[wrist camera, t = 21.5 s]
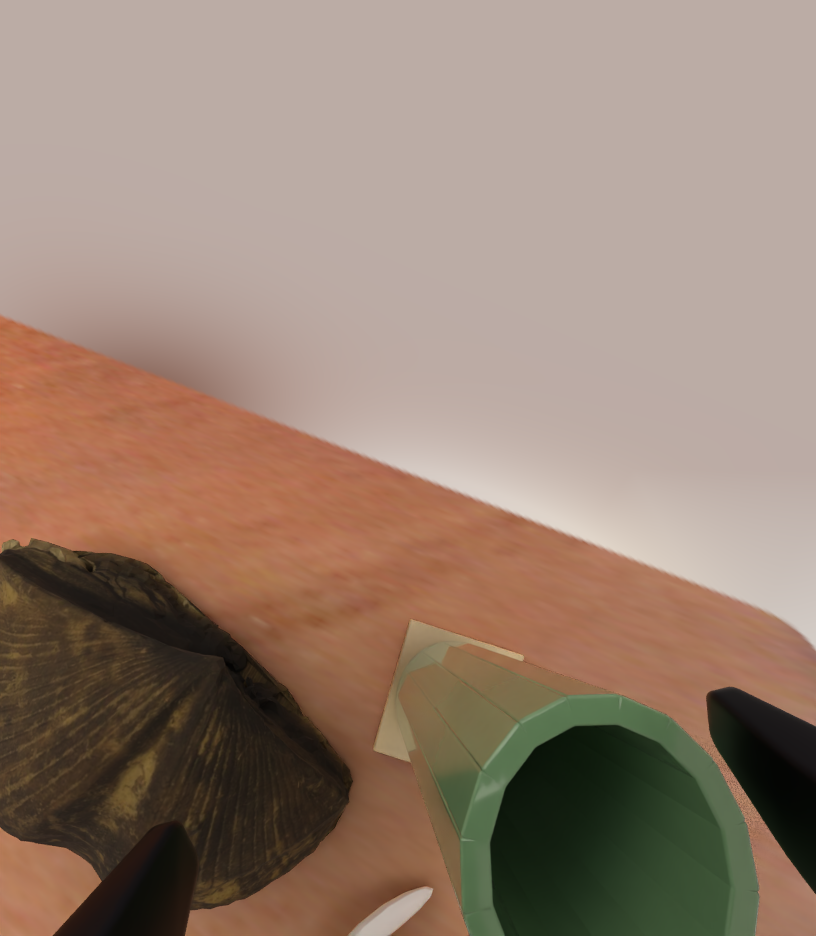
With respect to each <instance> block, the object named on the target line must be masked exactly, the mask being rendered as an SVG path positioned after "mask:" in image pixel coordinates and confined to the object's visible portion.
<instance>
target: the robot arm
mask: <svg viewBox="0 0 816 936" xmlns="http://www.w3.org/2000/svg"><path fill="white" fill-rule="evenodd" d="M706 702H707V712H708V722H709V731H710V735H711V738H712V740H713V742H714V744H715V746H716V748H717V749H718V751H719V753H720V754H721V756H722V757H723V759H724V760H725V762H726V763H727V765H728V766H729V768H730V770H731V771H732V773H733V774H734V776H735V777H736V779H737V780H738V782H739V783H740V785H741V787H742V788H743V790H744V791H745V793H746V794H747V796H748V797H749V799H750V800H751V802H752V803H753V805H754V807H755V808H756V810H757V811H758V813H759V814H760V816H761V817H762V819H763V820H764V822H765V824H766V825H767V827H768V828H769V830H770V831H771V833H772V834H773V836H774V837H775V839H776V840H777V842H778V843H779V845H780V846H781V848H782V849H783V851H784V852H785V854H786V855H787V857H788V858H789V859H790V861H791V862H792V863H793V865H794V866H795V867H796V869H797V870H798V872H799V873H800V874H801V876H802V877H803V878H804V880H805V881H806V882H807V883H808V885H809V886H810V887H811V889H812V890H813V891H814V893H815V894H816V726H814V725H812V724H810V723H808V722H806V721H803V720H801V719H799V718H797V717H795V716H793V715H791V714H789V713H787V712H785V711H783V710H781V709H779V708H777V707H775V706H773V705H771V704H769V703H767V702H764V701H762V700H760V699H758V698H756V697H754V696H752V695H750V694H748V693H746V692H744V691H742V690H740V689H737V688H734V687H726V688H722V689H718V690H714V691H710V692H708V694H707V696H706ZM198 867H199V860H198V854H197V851H196V849H195V847H194V845H193V843H192V841H191V839H190V837H189V835H188V833H187V832H186V830H185V828H184V826H183V824H182V823H181V822H180V821H178V820H174V821H170V822H166V823H162V824H158V825H156V826H154V827H152V828H151V829H150V830H149V831H148V832H147V833H146V834H145V835H144V836H143V837H142V838H141V840H140V841H139V842H138V843H137V844H136V845H135V846H134V847H133V848H132V849H131V850H130V852H129V853H128V854H127V855H126V856H125V857H124V858H123V859H122V860H121V861H120V863H119V864H118V865H117V866H116V867H115V868H114V869H113V870H112V871H111V872H110V874H109V875H108V876H107V877H106V878H105V879H104V880H103V881H102V882H101V883H100V884H99V886H98V887H97V888H96V889H95V890H94V891H93V892H92V893H91V894H90V895H89V897H88V898H87V899H86V900H85V901H84V902H83V903H82V904H81V905H80V906H79V908H78V909H77V910H76V911H75V912H74V913H73V914H72V915H71V916H70V917H69V919H68V920H67V921H66V922H65V923H64V924H63V925H62V926H61V927H60V928H59V929H58V931H57V932H56V933H55V934H54V935H53V936H185V932H186V928H187V923H188V918H189V913H190V908H191V903H192V899H193V894H194V889H195V884H196V879H197V874H198Z"/></svg>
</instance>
